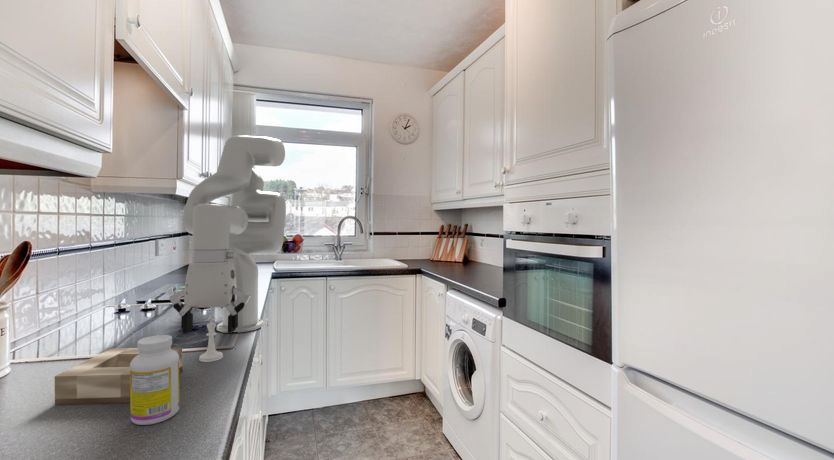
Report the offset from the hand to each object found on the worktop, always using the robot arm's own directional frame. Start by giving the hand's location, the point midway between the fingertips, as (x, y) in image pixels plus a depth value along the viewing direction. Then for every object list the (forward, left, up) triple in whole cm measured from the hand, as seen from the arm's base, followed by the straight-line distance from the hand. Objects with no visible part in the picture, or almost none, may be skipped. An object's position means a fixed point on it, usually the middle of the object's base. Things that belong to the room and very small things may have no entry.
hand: (210, 331), depth 87 cm
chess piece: (-1, 0, -7) cm, 7 cm away
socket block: (+13, -10, -7) cm, 18 cm away
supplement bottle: (+25, +2, -7) cm, 26 cm away
